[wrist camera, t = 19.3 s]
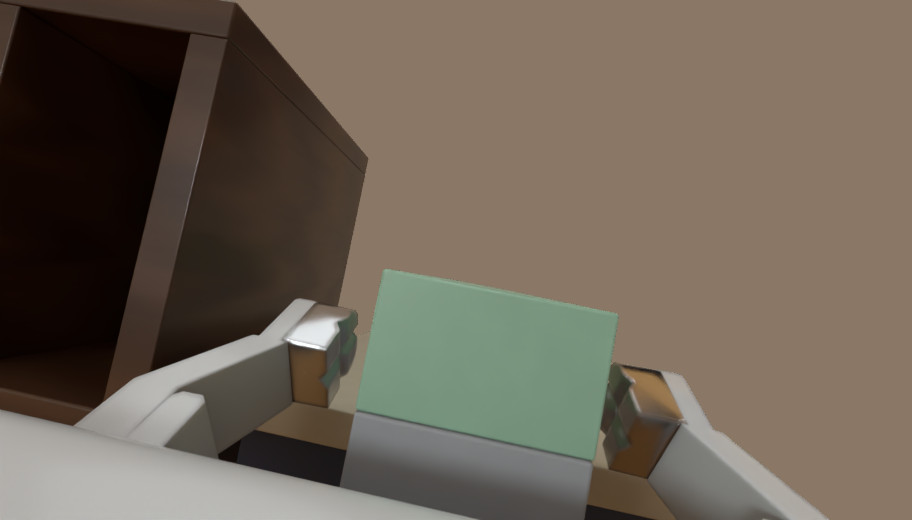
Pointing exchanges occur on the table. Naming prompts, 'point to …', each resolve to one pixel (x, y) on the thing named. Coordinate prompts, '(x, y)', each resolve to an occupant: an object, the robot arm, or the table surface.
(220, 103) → the shelf
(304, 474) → the archive box
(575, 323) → the green box
